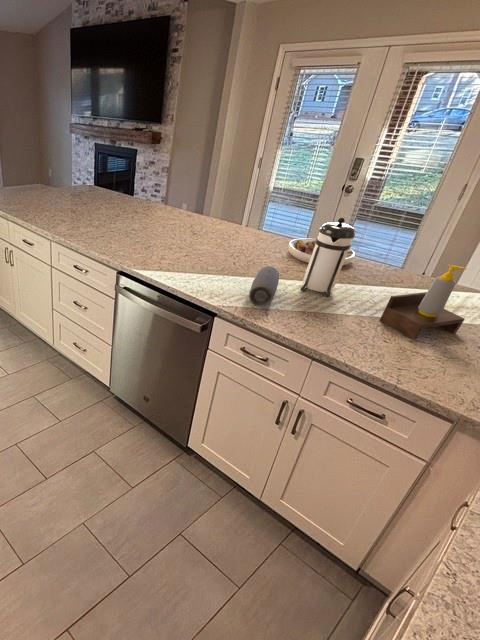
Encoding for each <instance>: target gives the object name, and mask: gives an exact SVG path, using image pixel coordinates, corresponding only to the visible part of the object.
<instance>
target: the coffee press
mask: <svg viewBox="0 0 480 640" xmlns="http://www.w3.org/2000/svg"><path fill="white" fill-rule="evenodd" d="M345 221H346V219H345V217H339V219H337V222H332V221H331V222H327V223H324V224H323V225H322V226H320V227H319V229H318V235H317V237H316V238H315V239H316V242H315V243H316V244H315V247H314V250H313V253H312V256H311V258H310V261H309V263H307V267H306V270H305V274H304V276H303V279H302V284H303V285H302V286H301V287H300V289H299V290H300V291H301V292H303V293H305V292H306V291H307V290H311V291H313V292H314V291H315V292H318V293H319V292H320V293H323V294H324V297H325V298H330V297H331V291H332V290H334V288H335V286H336V283H337V281H338V278H339V276H340V273H341V270H342V268H343V266H344V265H343V263H344V261H345V258H346V255H347V253H348V250H349V249H351V247H352V243H353V240H354V239H355V238H356V230H355V228H354V227H352V226H351V225H349V224H346V223H345Z"/></svg>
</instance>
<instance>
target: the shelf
mask: <svg viewBox="0 0 480 640" xmlns="http://www.w3.org/2000/svg"><path fill="white" fill-rule="evenodd" d="M427 292H428V291H425V292H416V293H415V292H414V293H406V294H398V295H397V294H396V295H391V296H390V298H389V299H388V302H387V303H386V306H385V308H384V310H383V312H382V314H381V316H380V318H379V321H380V322H382V324H385V325H387V326H388V327H390V328H392V329H394V330H395V331H396V332H399V333H400V334H402V335H404V336H406V337H407V338H408V339H411V340H412V341H415V340H417V339H418V337H419V336H420V334H421V332H422V330H423V329H427V328H433V327H439V328H441V329H443V330H444V331H447V332H449V333H450V334H453V335H456V334H457V333H458V331H459V329H460V327H462V324H463V323H464V321H465V317H462V316H460V315H458V314H456V313H454V312H452V311H450V310H448V309H445V307H444V308H443V311H442V313H441V314H439V315H438V316H437V317H428V316H425V315H422V314H420V313H419V308H418V306H419V305H420V303H421V301H422V300H423V298H424V297H425V295H426V293H427Z"/></svg>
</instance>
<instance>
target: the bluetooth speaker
mask: <svg viewBox="0 0 480 640" xmlns="http://www.w3.org/2000/svg"><path fill="white" fill-rule="evenodd" d="M279 281H280V274H279V270H278V269H277V268H276V267H274V266H270V265H269V266H264V267H262V268H261V269H260V270H258V272H257V273H256V275H255V277H254V279H253V280H252V283H251V286H250V289H249V295H248V296H249V297H248V298H249V301H250V303H251V304H252V305H253V306H256V307H261V308H262V307H263V308H264V307H266V306H268V305H270V304H271V303H272V301H273V300H274V297H275V295H276V293H277V290H278V287H279Z"/></svg>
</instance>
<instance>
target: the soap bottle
mask: <svg viewBox="0 0 480 640" xmlns="http://www.w3.org/2000/svg"><path fill="white" fill-rule="evenodd" d="M447 266H448V267H449V269H448V271H446V272H445V273H444V274H441V275H438V276H436V277H435V278H434V280H433V281H432V284H430V287H429V288H428V290H427V291H426V292H427V293H426V295H425V297H424V298H423V300H422V301H421V303H420V305H419V306H418V308H419V313H420V314H422V315H425V316H428V317H437V316H438V315H439V314H441V313H442V311H443V308H444V309H445V306H446V305H447V303H448V300H449V298H450V296H451V294H452V292H453V290H454V288H455V286H456V285H457V281H456V280H455V277H454V275H455V274H454V273H453V272H455V270H467V269H468V268H467V267H465V266H460V265H455V264H454V265H453V264H449V263H448V264H447Z"/></svg>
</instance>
